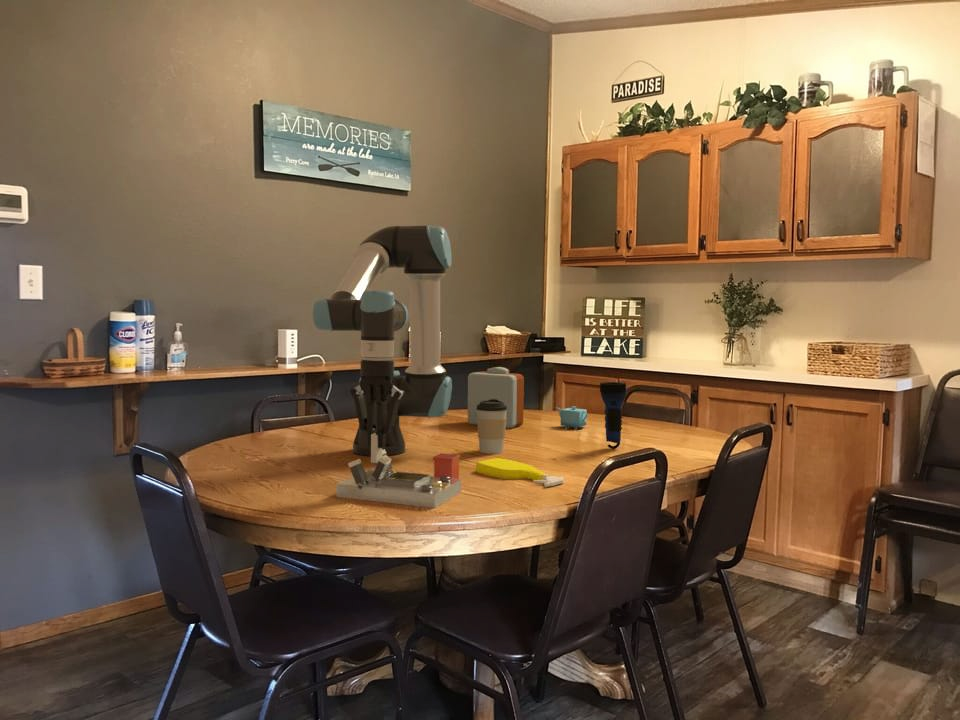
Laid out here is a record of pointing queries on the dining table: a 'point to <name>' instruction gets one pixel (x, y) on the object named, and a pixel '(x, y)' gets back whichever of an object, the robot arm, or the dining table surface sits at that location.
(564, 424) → the teapot
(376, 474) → the breaker
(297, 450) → the dining table surface
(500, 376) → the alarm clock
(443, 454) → the lockout cap
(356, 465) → the breaker
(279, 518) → the dining table surface
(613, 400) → the flashlight
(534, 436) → the dining table surface
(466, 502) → the dining table surface
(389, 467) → the breaker
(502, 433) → the coffee cup
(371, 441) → the robot arm
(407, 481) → the panel
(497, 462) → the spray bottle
